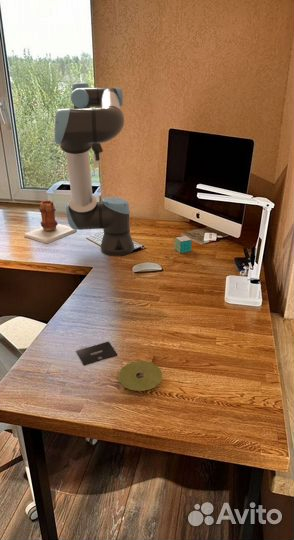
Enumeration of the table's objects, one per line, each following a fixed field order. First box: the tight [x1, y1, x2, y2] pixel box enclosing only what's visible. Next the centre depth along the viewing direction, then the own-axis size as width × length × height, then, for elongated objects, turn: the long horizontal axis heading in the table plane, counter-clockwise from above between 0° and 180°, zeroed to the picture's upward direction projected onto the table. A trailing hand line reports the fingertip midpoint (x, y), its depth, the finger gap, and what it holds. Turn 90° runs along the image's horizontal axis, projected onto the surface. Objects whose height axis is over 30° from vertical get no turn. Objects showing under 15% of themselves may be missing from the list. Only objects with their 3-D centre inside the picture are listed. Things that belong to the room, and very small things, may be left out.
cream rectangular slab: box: [23, 223, 78, 244], centre depth 199 cm, size 16×20×2 cm
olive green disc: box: [117, 360, 163, 392], centre depth 103 cm, size 11×11×2 cm
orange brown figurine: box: [38, 200, 59, 231], centre depth 195 cm, size 15×8×15 cm, turn 19°
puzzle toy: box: [174, 235, 193, 254], centre depth 179 cm, size 6×6×6 cm
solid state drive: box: [76, 341, 118, 366], centre depth 113 cm, size 7×10×1 cm
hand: (86, 165), depth 194 cm, fingers open, 13 cm apart
